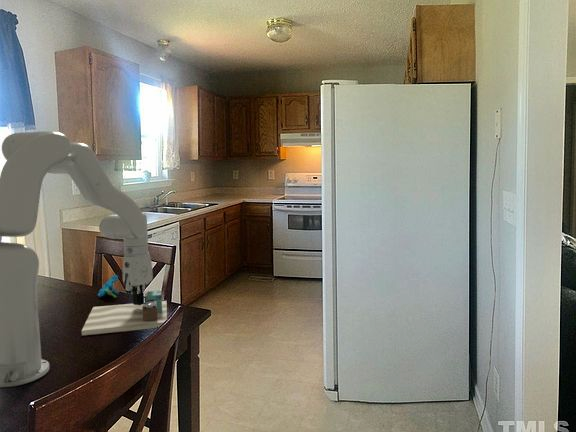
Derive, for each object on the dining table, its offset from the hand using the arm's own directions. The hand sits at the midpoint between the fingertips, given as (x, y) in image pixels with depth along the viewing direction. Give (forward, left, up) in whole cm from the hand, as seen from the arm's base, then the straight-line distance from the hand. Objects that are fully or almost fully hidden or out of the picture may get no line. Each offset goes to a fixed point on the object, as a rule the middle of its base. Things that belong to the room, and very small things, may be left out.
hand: (138, 304), depth 147 cm
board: (-5, +3, -3) cm, 7 cm away
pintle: (-12, -4, -1) cm, 13 cm away
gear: (+24, +12, -3) cm, 27 cm away
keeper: (-4, -5, -1) cm, 7 cm away
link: (-5, -4, -1) cm, 6 cm away
